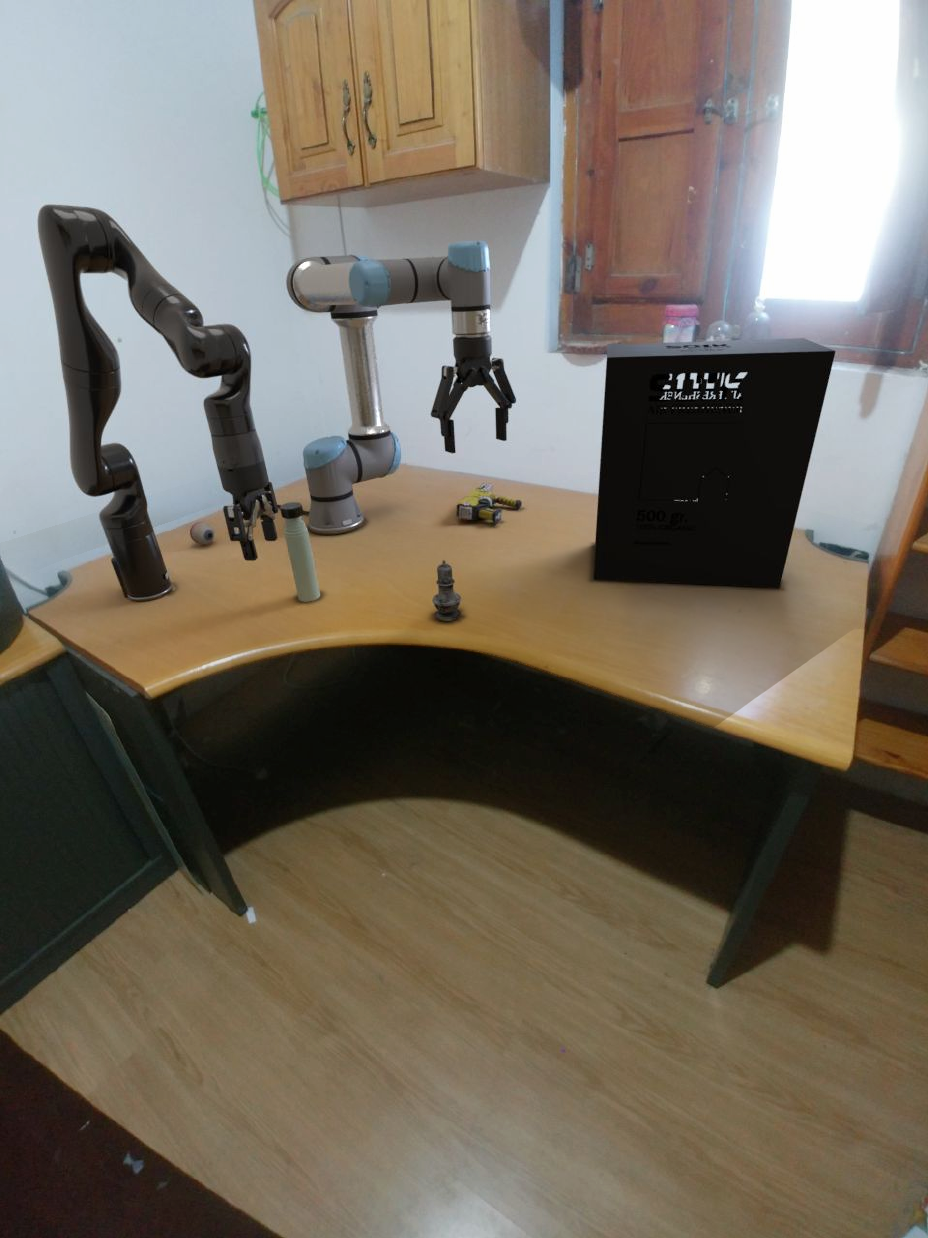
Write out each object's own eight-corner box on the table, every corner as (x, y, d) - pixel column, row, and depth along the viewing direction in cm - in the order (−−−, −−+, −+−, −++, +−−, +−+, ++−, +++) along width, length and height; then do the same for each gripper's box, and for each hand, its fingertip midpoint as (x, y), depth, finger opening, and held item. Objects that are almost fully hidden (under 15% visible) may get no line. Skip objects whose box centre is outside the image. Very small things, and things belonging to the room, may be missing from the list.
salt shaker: (459, 622, 119) (455, 567, 113) (430, 620, 120) (425, 566, 114) (464, 608, 124) (461, 554, 118) (437, 606, 125) (432, 553, 119)
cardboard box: (759, 548, 141) (803, 338, 119) (779, 587, 124) (835, 350, 102) (595, 543, 149) (607, 344, 126) (593, 579, 132) (607, 357, 109)
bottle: (315, 589, 135) (298, 501, 125) (323, 597, 132) (306, 507, 121) (295, 596, 133) (275, 507, 123) (303, 604, 129) (284, 513, 119)
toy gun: (529, 487, 179) (482, 480, 183) (508, 512, 159) (455, 503, 163) (528, 503, 181) (481, 495, 185) (506, 528, 161) (454, 519, 165)
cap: (298, 509, 125) (297, 500, 124) (306, 515, 122) (305, 505, 121) (278, 514, 123) (276, 505, 122) (286, 520, 120) (284, 510, 119)
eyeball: (203, 550, 158) (197, 528, 155) (188, 545, 161) (182, 524, 158) (222, 541, 162) (216, 520, 159) (207, 538, 166) (201, 517, 163)
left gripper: (238, 448, 106) (259, 534, 114) (196, 472, 94) (223, 566, 102) (278, 447, 105) (296, 534, 113) (241, 471, 93) (265, 567, 101)
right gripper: (429, 342, 108) (437, 460, 118) (533, 329, 120) (532, 437, 131) (407, 340, 113) (417, 454, 124) (508, 328, 125) (510, 432, 136)
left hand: (261, 549), depth 107 cm, fingers open, 8 cm apart
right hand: (476, 445), depth 127 cm, fingers open, 13 cm apart
